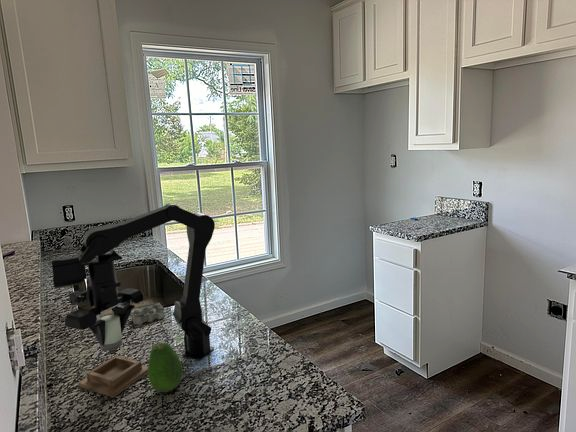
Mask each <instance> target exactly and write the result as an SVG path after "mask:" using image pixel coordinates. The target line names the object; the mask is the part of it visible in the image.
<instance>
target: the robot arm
mask: <svg viewBox="0 0 576 432" xmlns="http://www.w3.org/2000/svg"><path fill="white" fill-rule="evenodd" d="M172 221H175V222H177V223H179V224H182V225H184V226H186V235H187V239H188V240H187V241H188V253H187V259H186V260H187V261H186V269H185V277H184V284H183V293H182V296H181V299H180V300H179V301H178V300H175V301H174V306H173V307H174V311H173V313H172V316H173V317H174V319H175V322H176V324H178V326H179V328H181V330H182V331H183V333H184V335H183V342H184V343H183V344H184V352H182V356H183V357H188V358H191V359H196V360H199V361H200V360H203V359H204V358H205V357H206V356H207V355H208V354H210V353H211V352H212V351H214V350H215V347H214V346H211V339H210V336H211V332H212V327H211V326H210V325H209V324H208V323H207V322H206V321H205V320H204V319H203V310H202V306H201V305H202V304H201V300H200V298H201V297H200V296H201V290H202V288H201V287H202V281H203V275H204V274H203V273H204V267H205V258H206V252H207V251H206V250H207V247H208V245H209V243H210V242H211V240H212V237H213V235H214V232H215V227H216V223H215V220H214V219H213V217H212V216H210V215H207V214H205V213H202V212H199V211H197V212H191V211H189V210H186V209H183V208H181V207H180V206H178V205H177V204H174V203H166V204H165V205H164V206H161V207H158V208H155V209H154V210H153V209H152V210H151V211H149V212H146V213H143V214H140V215H137V216H134V217H133V218H129V219H127V220H125V221H122V222H116V223H110V224H104V225H99V226H94V227H91V228H90V229H88V230H87V231H86V232H85V234H84V236H83V242H84V243H83V244H82V245H81V247H80V249H79V250H78V252H77V253H76V256H70V257H64V258H61V257H59V258H52V259H51V267H52V271H51V273H52V283H53V287H54V290H57V289H62V288H69V287H75V286H79V285H82V284H83V282H85V280H87V271H86V266H87V268H88V269H87V270H88V275H89V284H87V285H86V290H85V291H82V292H81V291H80V289H79V290H76V291H73V292H71V293H69V294H68V296H69V297H68V298H69V303H70V305H71V306H72V307H74V306H78V307H79V308H78V309H76V310H74V311H71V312H69V313H67V314H66V315H65V317H64V326H65V327H66V328H70V329H75V330H78V331H79V330H80V331H82V330H83V331H84V330H86V329H88V328H89V329H90V331H91V332H92V334H93V336H94V338H95V339H96V340H97V342H98V344H99V346H100V345H104V342H105V320H101V318H102V317H101V315H102V314H104V313H106V312H108V311H110V310H111V312H112V313H113V315H118V316H119V317H120V326H121V335H123V332H124V330H125V328H126V325H127V322H128V320H129V317H130V316H131V315H130V313H131V311H132V310H133V309H135V307H136V306H135V305H137V304H139V303H141V302H143V301H144V293H143V292H142V291H141V289H137V288H131V287H130V288H129V287H127V288H125V289H122V290H120V291H119V290H118V288H119V287H120V286H121V281H117V276H116V268H115V267H116V266H115V261H121V260H123V256H122V255H121V253H119V252H117V251H116V250H115V248H117V247H118V246H120V245H121V244H123V242H125V241H126V240H128V239H129V238H132V237H135V236H137V235H140V234H143V233H145V232H147V231H149V230H152V229H155V228H157V227H159V226H162V225H165V224H168V223H169V222H172ZM131 303H133V304H131ZM134 304H135V305H134ZM83 306H87V307H89V308H91V307H93V308H91V309H89V310H88V309H83V308H81V307H83Z"/></svg>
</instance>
